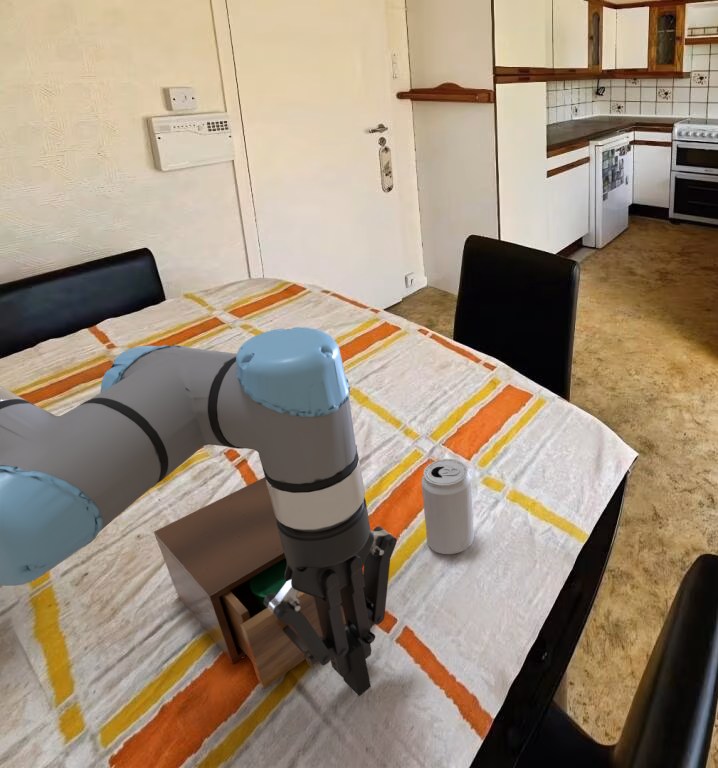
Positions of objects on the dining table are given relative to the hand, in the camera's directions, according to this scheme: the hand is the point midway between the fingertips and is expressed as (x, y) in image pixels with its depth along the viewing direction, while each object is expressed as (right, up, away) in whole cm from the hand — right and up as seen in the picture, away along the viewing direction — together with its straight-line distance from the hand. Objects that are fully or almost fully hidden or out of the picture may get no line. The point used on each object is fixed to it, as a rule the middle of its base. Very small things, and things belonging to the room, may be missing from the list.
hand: (357, 683), depth 65 cm
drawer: (-8, +3, +7) cm, 11 cm away
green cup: (-10, +5, +8) cm, 14 cm away
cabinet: (-15, +5, +13) cm, 21 cm away
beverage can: (+8, +9, +21) cm, 24 cm away
